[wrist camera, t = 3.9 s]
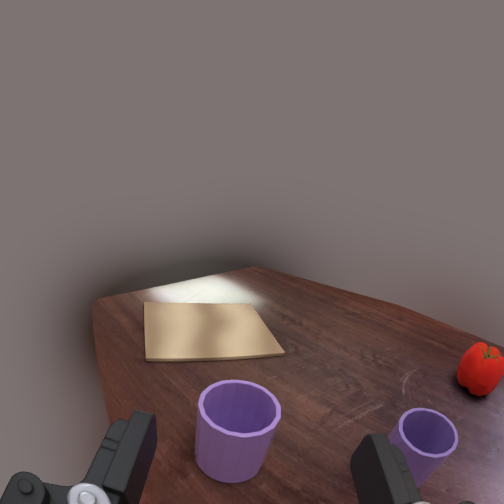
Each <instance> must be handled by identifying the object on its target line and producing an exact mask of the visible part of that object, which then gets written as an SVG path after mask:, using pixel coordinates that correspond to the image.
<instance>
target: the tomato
mask: <svg viewBox="0 0 504 504" xmlns="http://www.w3.org/2000/svg"><path fill="white" fill-rule="evenodd" d="M500 356H501V357H500ZM503 373H504V357H502V355H500V352H499V350H498V349H497V348H495V347H491V346H489V348H488V346H487V345H486V344H484V343H482V342H479V343H476V344H474V345H473V346H472V347H471V348H470V349H468V350H467V351H466V352H465V354H464V355H463V357H462V359H461V361H460V364H459V366H458V369H457V374H456V375H457V380H458V383H459V384H460V385H461V386H463V387H467V388H468V390H469V392H470V393H471V394H473V395H477V396H481V395H487V394H489V393H491V392H492V391H493V390H494V388H495V387H496V386H497V384H498V383H499V381H500V380H501V378H502V375H503Z"/></svg>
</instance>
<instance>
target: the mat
mask: <svg viewBox="0 0 504 504" xmlns="http://www.w3.org/2000/svg"><path fill="white" fill-rule="evenodd" d="M144 330H145V354H146V361H154V362H179V361H216V360H235V359H250V358H263V357H274V356H284V354H285V352H284V351H283V349H282V348H281V347H280V345H279V344H278V342H277V341H276V339H275V338H274V337H273V335H272V334H271V332H270V331H269V329H268V328H267V327H266V325H265V324H264V322H263V321H262V319H261V318H260V317H259V315H258V314H257V312H256V311H255V309H254V308H253V306H252V305H251V304H205V303H161V302H144Z"/></svg>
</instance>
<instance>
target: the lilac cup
mask: <svg viewBox="0 0 504 504" xmlns="http://www.w3.org/2000/svg"><path fill="white" fill-rule="evenodd" d="M388 439H389V441H390V444H395V445H396V446H397V447H398V448H399V449H400V450H401V451H402V452H403V455H404V457H405V459H406V464H408V467H409V469H410V472H411V474H412V476H413V479H414V481H415V484H416V486H417V489H418V488H419V487H420V486H421V485H422V484H423V483H424V482H425V481H426V480H427V479H428V478H429V477H430V476H431V475H432V474H433V473H434V472H435V471H436V470H437V469H438V468H439V467H440V466H441V465H442V464H443V463H444V461H445V460H446V459H447V458H448V457H449V456H450V455H451V454H452V452H453V451H454V450H455V448H456V446H457V443H458V433H457V430H456V428H455V427H454V425H453V423H452V422H451V421H450V420H449V419H448V418H447V417H445V416H444V415H442V414H440V413H439V412H437V411H435V410H431V409H427V408H413V409H411V410H409V411H407V412H405V413H404V414H403V415H402V417H401V418H400V419H399V421H398V422H397V424H396V425H395V427H394V428H393V430H392V431H391V433H390V434H389V436H388Z"/></svg>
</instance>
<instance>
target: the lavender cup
mask: <svg viewBox="0 0 504 504" xmlns="http://www.w3.org/2000/svg"><path fill="white" fill-rule="evenodd" d="M280 418H281V406H280V404H279V402H278V401H277V399H276V397H275V396H274V395H273V394H272V393H270V392H269V391H268V390H267V389H265V388H264V387H262V386H259V385H257V384H255V383H252V382H248V381H242V380H224V381H220V382H217V383H215V384H212V385H210V386H208V387H207V388H206V389H205V390H204V391H203V392H202V393H201V395H200V399H199V402H198V409H197V423H196V437H195V459H196V462H197V465H198V466H199V468H200V469H201V470H202V471H203V472H204V473H205V474H206V475H207V476H209V477H210V478H212V479H214V480H217V481H220V482H224V483H240V482H244V481H247V480H249V479H251V478H252V477H254V476H255V475H256V474H257V473H258V472H259V471H260V469H261V467H262V465H263V463H264V461H265V458H266V456H267V453H268V451H269V448H270V446H271V443H272V440H273V438H274V435H275V432H276V430H277V427H278V424H279V421H280Z"/></svg>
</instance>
